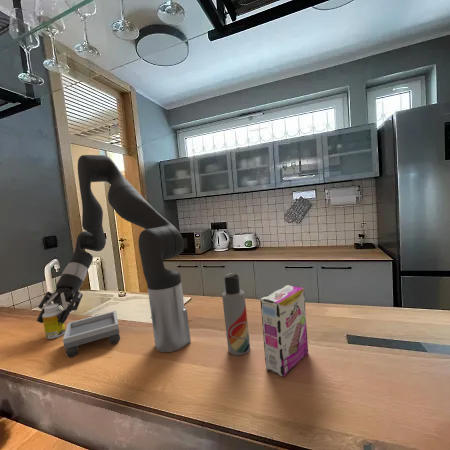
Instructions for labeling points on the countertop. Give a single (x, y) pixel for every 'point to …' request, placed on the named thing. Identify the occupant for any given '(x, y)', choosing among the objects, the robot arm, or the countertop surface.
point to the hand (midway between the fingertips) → (49, 322)
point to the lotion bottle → (235, 316)
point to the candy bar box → (284, 329)
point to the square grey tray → (90, 331)
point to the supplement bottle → (52, 322)
